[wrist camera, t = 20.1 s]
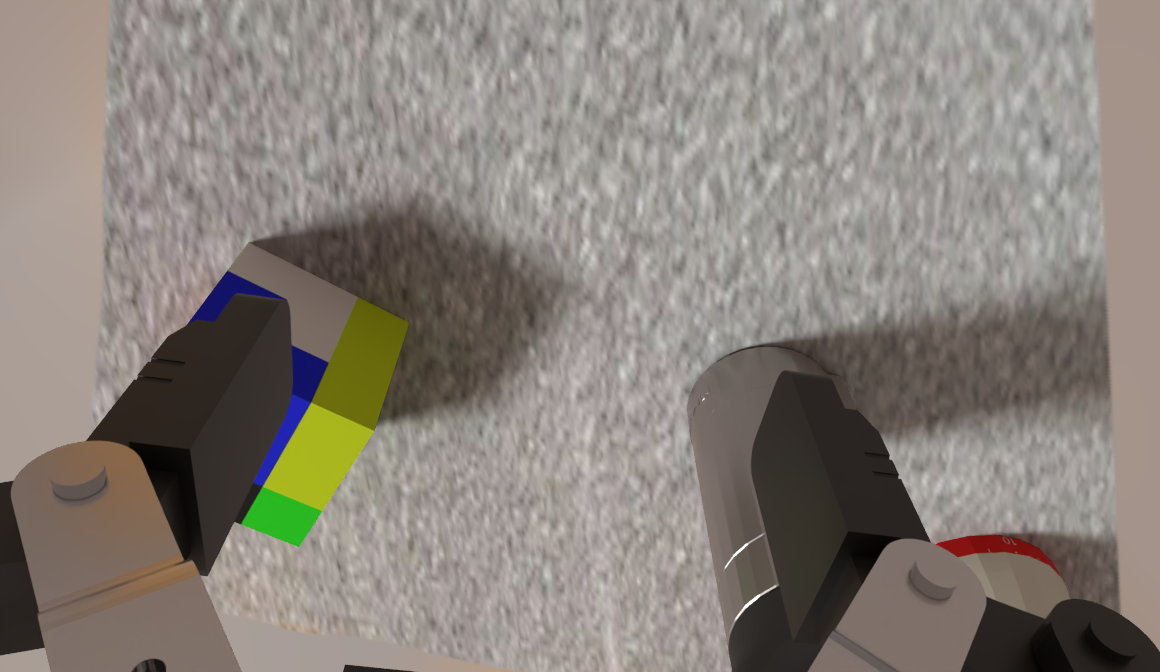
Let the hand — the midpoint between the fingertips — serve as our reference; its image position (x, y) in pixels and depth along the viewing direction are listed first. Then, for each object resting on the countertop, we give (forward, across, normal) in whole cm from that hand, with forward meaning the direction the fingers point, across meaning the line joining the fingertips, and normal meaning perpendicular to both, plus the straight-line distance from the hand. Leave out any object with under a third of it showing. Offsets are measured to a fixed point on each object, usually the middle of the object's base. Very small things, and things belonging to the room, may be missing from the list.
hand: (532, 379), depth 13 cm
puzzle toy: (+30, +13, +22) cm, 40 cm away
